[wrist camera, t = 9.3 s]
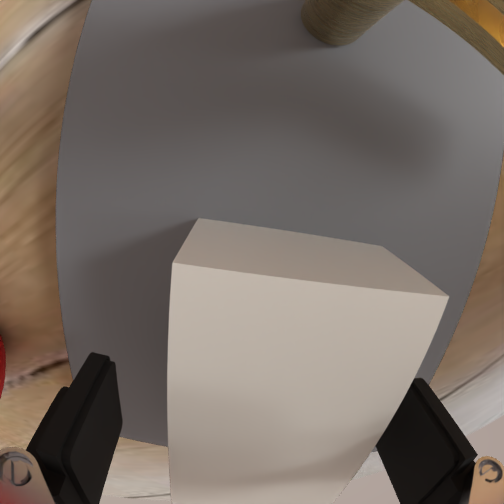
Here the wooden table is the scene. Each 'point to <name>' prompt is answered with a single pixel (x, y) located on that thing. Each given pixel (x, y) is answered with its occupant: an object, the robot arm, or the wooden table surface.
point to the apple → (2, 365)
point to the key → (434, 3)
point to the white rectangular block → (286, 361)
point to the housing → (260, 161)
